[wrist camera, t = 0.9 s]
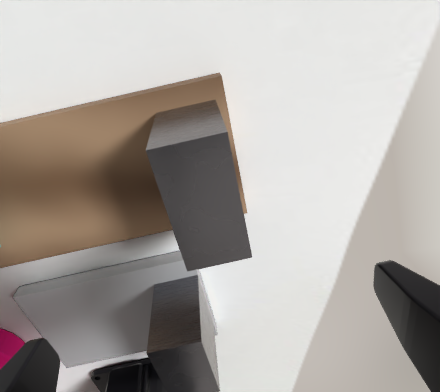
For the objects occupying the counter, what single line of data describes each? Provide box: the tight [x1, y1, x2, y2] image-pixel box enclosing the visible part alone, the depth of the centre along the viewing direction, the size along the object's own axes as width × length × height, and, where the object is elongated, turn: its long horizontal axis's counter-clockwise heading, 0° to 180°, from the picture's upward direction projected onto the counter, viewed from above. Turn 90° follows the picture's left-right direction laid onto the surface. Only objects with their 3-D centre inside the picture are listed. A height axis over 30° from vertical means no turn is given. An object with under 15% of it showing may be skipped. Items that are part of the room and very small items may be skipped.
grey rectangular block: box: [13, 251, 220, 392], centre depth 21 cm, size 8×12×6 cm, turn 101°
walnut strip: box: [0, 73, 252, 272], centre depth 16 cm, size 8×21×6 cm, turn 101°
